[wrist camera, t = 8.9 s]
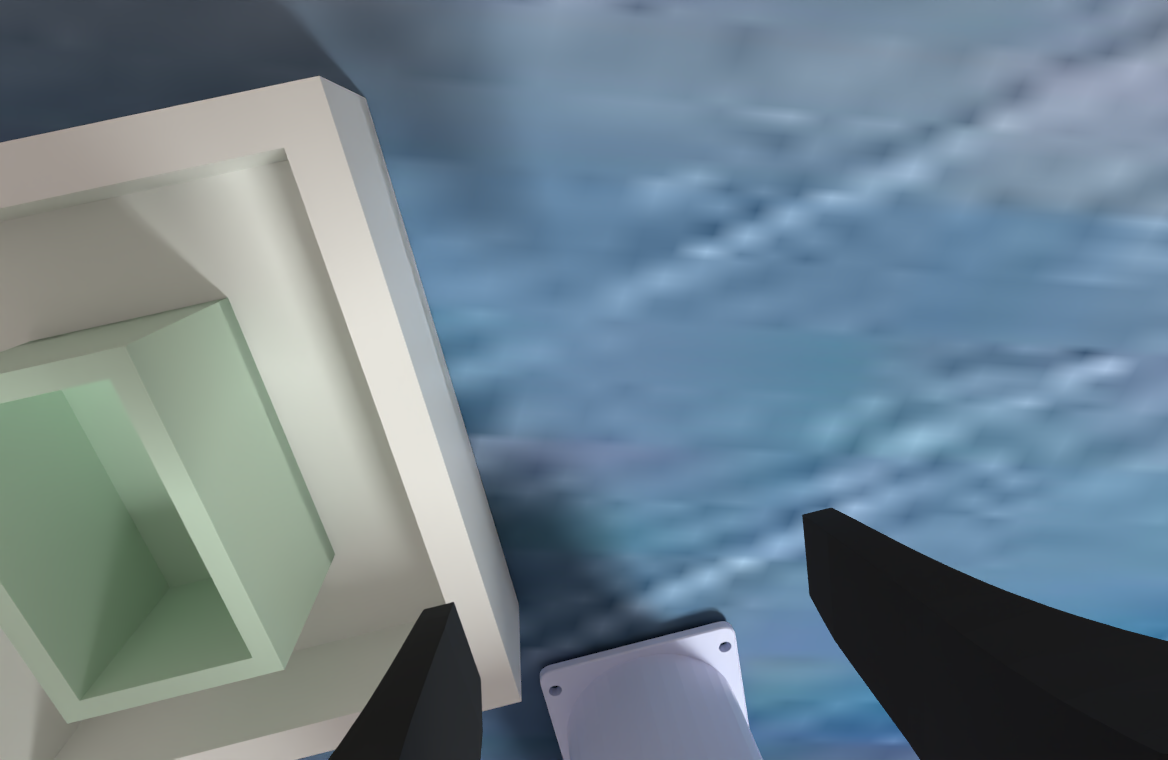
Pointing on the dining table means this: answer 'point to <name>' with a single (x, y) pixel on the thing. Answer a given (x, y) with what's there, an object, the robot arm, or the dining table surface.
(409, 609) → the white crate
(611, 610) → the dining table surface
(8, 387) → the green crate
